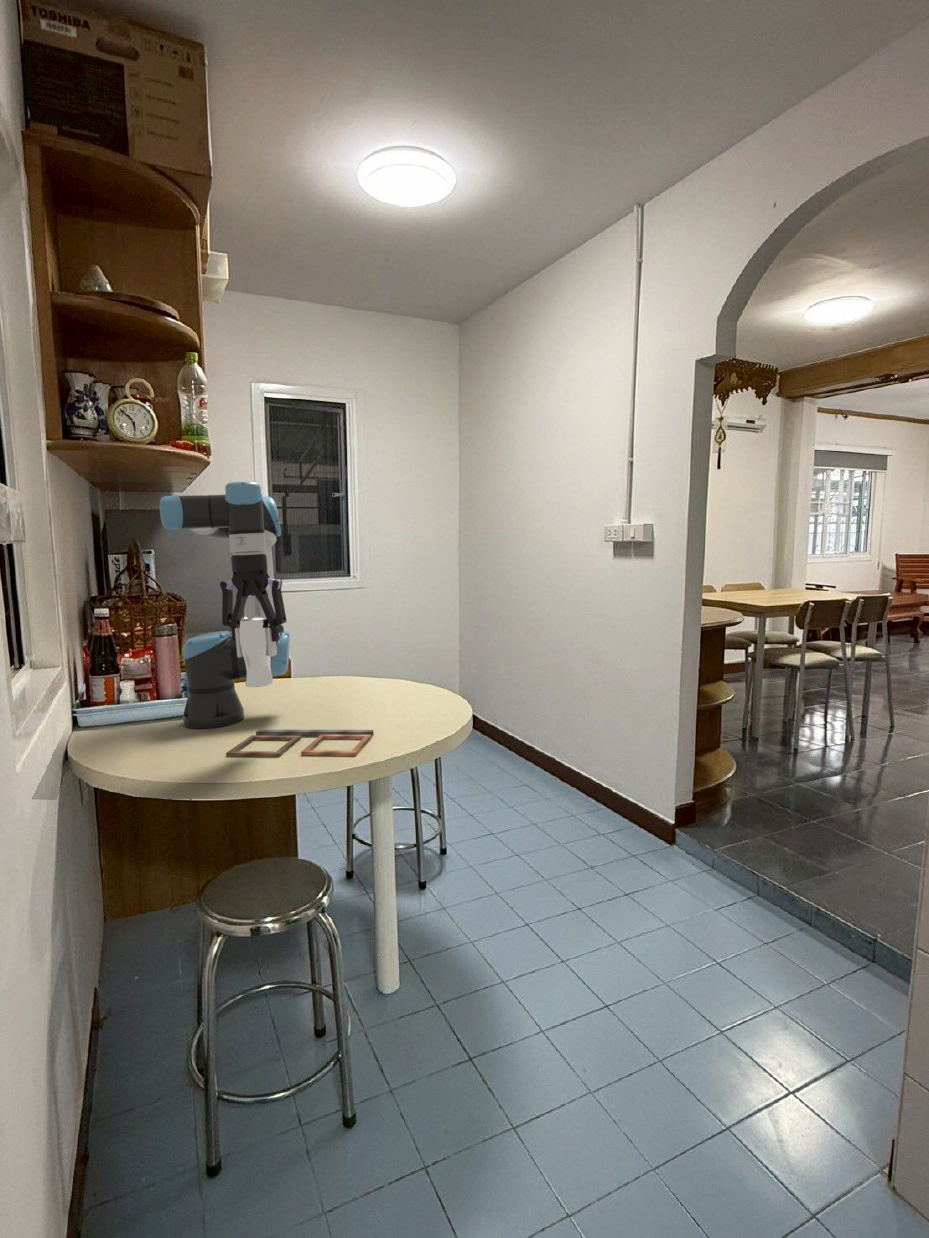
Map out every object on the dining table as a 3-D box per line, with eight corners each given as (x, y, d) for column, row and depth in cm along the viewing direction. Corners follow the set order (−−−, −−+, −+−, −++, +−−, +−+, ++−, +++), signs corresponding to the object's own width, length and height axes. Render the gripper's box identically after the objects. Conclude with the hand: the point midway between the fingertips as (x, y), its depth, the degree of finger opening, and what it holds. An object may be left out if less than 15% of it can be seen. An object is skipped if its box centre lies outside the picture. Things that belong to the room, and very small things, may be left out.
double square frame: (226, 756, 145) (225, 751, 145) (258, 734, 161) (257, 729, 161) (354, 757, 141) (353, 752, 141) (374, 734, 157) (374, 729, 156)
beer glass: (262, 679, 154) (257, 615, 151) (282, 682, 150) (276, 617, 147) (237, 685, 148) (231, 620, 146) (256, 689, 144) (250, 621, 142)
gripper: (197, 555, 142) (207, 659, 146) (284, 553, 139) (292, 658, 143) (215, 554, 150) (224, 653, 153) (297, 551, 147) (305, 652, 150)
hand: (257, 655), depth 148 cm, fingers closed on beer glass, 7 cm apart
